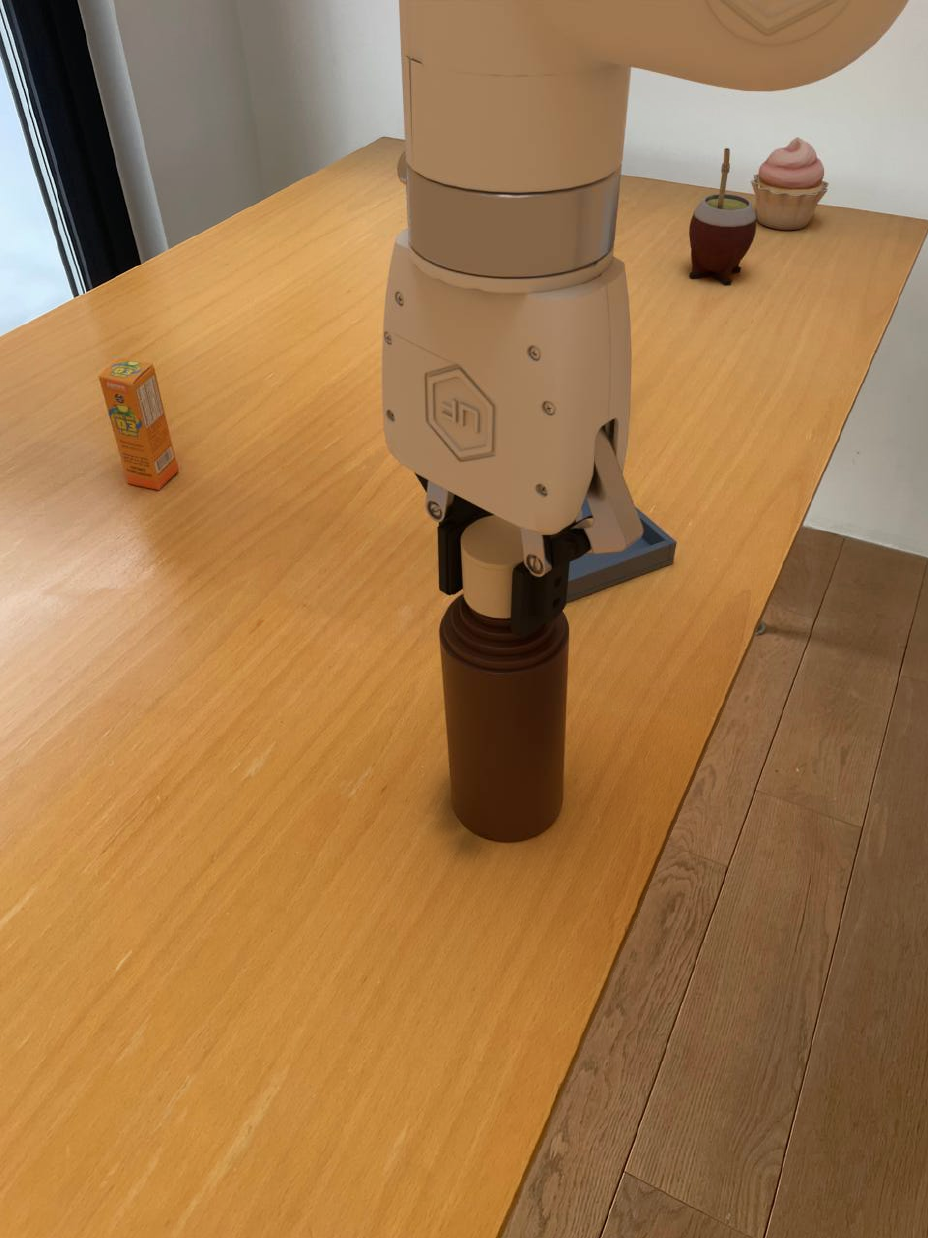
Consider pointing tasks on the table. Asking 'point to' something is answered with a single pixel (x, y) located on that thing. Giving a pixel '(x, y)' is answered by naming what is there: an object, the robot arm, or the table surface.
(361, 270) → the table surface
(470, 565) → the cap
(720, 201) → the mate gourd
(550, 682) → the bottle
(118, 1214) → the table surface
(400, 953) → the table surface
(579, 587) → the tray
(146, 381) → the supplement box
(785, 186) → the cupcake
